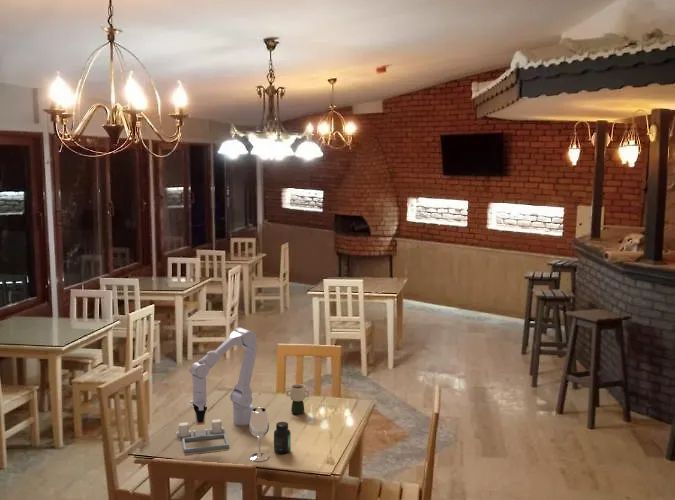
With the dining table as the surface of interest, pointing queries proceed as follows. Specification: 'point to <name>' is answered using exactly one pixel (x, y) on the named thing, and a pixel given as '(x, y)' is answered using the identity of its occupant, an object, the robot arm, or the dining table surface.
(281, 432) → the supplement bottle
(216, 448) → the tray
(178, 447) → the dining table surface
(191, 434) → the block
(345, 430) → the dining table surface
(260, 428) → the wineglass
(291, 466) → the dining table surface
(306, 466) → the dining table surface
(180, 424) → the block
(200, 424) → the fuse marked
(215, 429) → the fuse
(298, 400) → the character mug
